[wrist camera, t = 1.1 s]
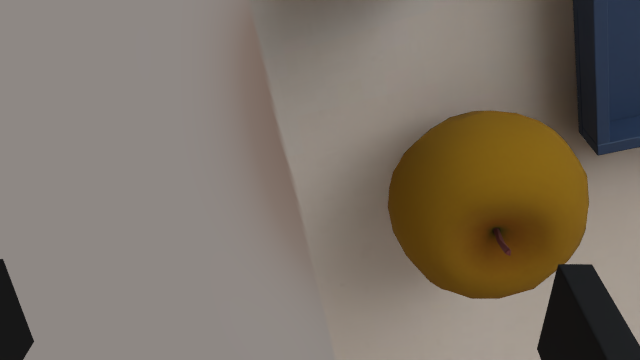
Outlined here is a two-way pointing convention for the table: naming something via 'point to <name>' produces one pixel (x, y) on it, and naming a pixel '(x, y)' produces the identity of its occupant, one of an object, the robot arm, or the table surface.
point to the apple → (489, 203)
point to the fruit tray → (608, 73)
